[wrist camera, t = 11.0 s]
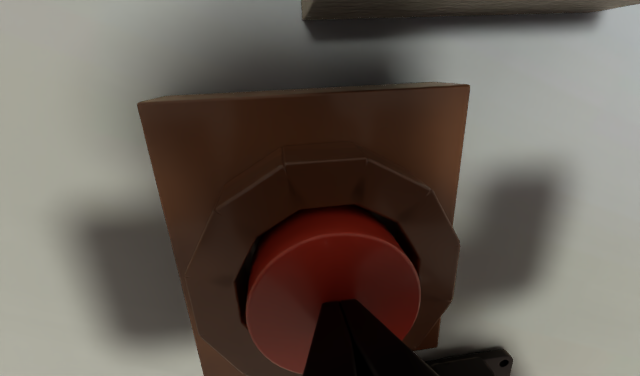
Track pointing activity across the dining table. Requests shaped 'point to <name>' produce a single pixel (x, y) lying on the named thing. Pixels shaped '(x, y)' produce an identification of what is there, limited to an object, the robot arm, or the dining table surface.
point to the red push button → (325, 279)
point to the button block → (302, 191)
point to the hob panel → (448, 8)
